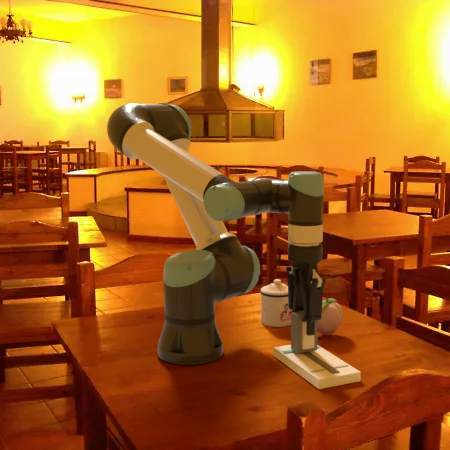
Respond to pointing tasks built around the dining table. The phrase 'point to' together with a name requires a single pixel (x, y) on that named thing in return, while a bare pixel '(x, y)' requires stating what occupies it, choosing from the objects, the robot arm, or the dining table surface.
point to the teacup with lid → (275, 305)
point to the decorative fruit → (330, 317)
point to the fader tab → (300, 333)
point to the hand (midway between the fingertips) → (303, 345)
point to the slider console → (318, 366)
